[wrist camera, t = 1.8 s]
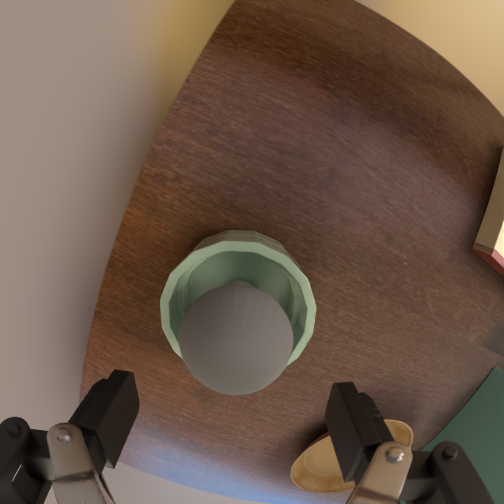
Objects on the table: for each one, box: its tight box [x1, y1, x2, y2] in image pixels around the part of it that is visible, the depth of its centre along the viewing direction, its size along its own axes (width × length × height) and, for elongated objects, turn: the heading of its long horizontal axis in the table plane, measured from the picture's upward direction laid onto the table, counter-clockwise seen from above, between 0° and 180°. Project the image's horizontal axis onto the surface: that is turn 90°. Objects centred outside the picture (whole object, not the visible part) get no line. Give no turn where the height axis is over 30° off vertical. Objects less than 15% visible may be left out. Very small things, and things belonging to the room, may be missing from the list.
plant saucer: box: [290, 418, 413, 493], centre depth 26 cm, size 15×15×3 cm
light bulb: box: [179, 279, 293, 395], centre depth 17 cm, size 6×6×10 cm
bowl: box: [160, 230, 317, 366], centre depth 20 cm, size 10×10×5 cm
